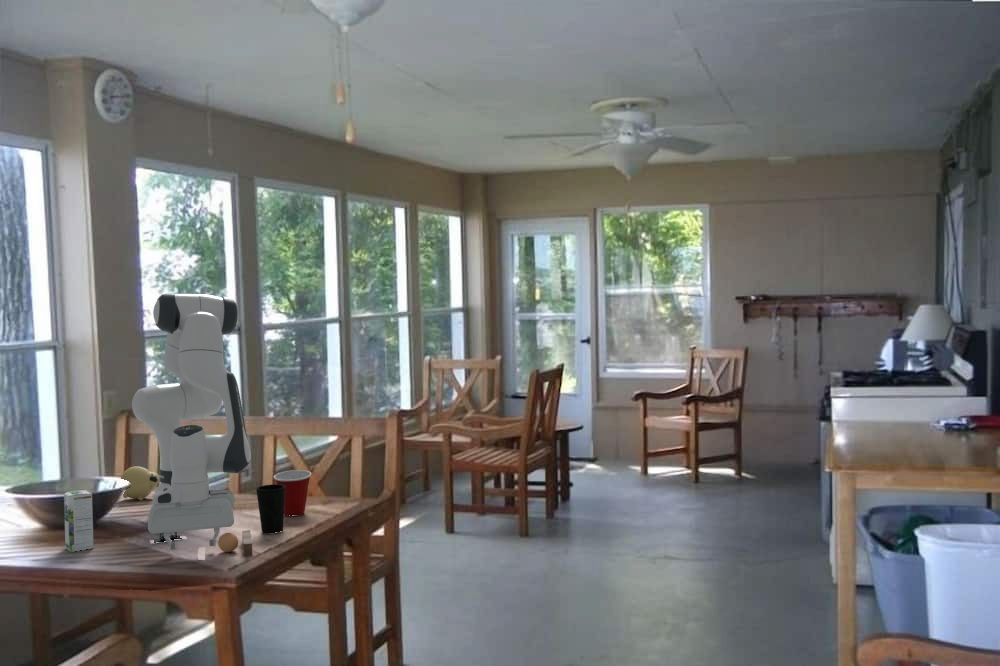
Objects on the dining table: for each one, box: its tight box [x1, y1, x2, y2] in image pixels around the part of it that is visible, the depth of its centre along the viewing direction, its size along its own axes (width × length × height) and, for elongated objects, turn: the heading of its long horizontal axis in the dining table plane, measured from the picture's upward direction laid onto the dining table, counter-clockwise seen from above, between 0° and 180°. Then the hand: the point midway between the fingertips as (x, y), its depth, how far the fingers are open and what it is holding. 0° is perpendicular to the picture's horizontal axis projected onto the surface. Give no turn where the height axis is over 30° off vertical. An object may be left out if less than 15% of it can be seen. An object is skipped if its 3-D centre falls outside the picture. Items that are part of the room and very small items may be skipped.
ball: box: [217, 532, 239, 553], centre depth 233 cm, size 5×5×5 cm
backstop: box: [241, 529, 253, 557], centre depth 235 cm, size 14×2×3 cm, turn 17°
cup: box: [255, 483, 285, 534], centre depth 252 cm, size 8×8×12 cm
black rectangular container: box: [152, 532, 182, 543], centre depth 247 cm, size 12×7×5 cm, turn 117°
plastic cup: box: [273, 469, 312, 517], centre depth 271 cm, size 11×11×12 cm
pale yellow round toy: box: [120, 465, 161, 501], centre depth 299 cm, size 10×12×11 cm
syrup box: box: [63, 489, 95, 553], centre depth 239 cm, size 6×6×14 cm
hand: (192, 547), depth 231 cm, fingers open, 8 cm apart
